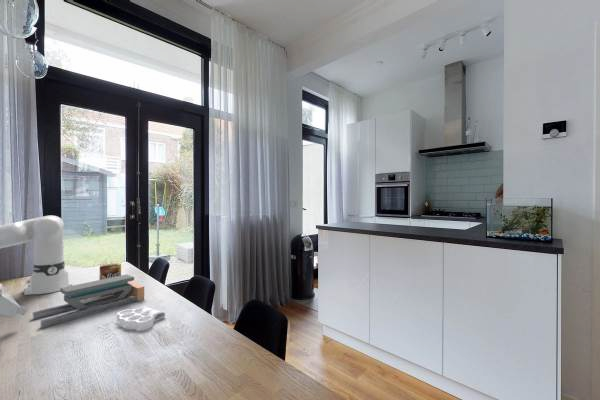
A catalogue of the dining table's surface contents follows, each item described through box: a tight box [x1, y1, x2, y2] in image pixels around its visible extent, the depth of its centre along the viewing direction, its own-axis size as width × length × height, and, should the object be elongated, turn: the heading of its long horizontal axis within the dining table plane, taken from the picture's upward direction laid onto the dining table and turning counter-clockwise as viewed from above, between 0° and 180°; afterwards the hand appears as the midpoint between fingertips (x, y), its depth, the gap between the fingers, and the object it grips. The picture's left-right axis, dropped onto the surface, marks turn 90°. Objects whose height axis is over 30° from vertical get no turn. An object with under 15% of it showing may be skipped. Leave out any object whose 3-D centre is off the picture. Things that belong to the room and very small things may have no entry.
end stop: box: [125, 281, 145, 302], centre depth 131 cm, size 14×3×6 cm, turn 54°
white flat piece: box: [114, 306, 166, 332], centre depth 105 cm, size 3×18×15 cm
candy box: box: [98, 262, 122, 280], centre depth 134 cm, size 9×4×15 cm, turn 123°
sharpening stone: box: [59, 274, 135, 310], centre depth 119 cm, size 25×8×11 cm, turn 144°
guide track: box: [32, 293, 139, 329], centre depth 117 cm, size 14×33×2 cm, turn 144°
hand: (24, 312), depth 100 cm, fingers closed
